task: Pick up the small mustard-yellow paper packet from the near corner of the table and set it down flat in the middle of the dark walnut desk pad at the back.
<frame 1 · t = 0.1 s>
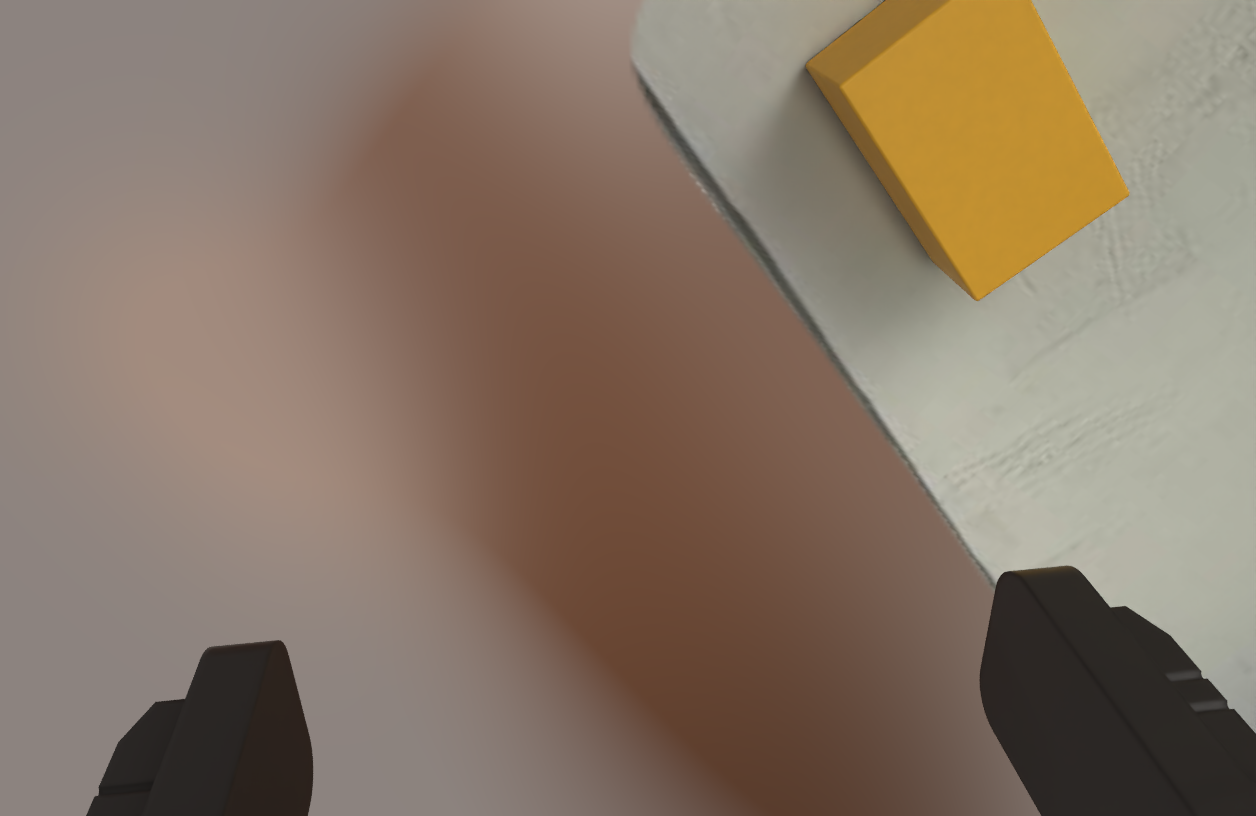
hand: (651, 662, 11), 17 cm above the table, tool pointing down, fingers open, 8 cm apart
packet: (943, 115, 26), on the table
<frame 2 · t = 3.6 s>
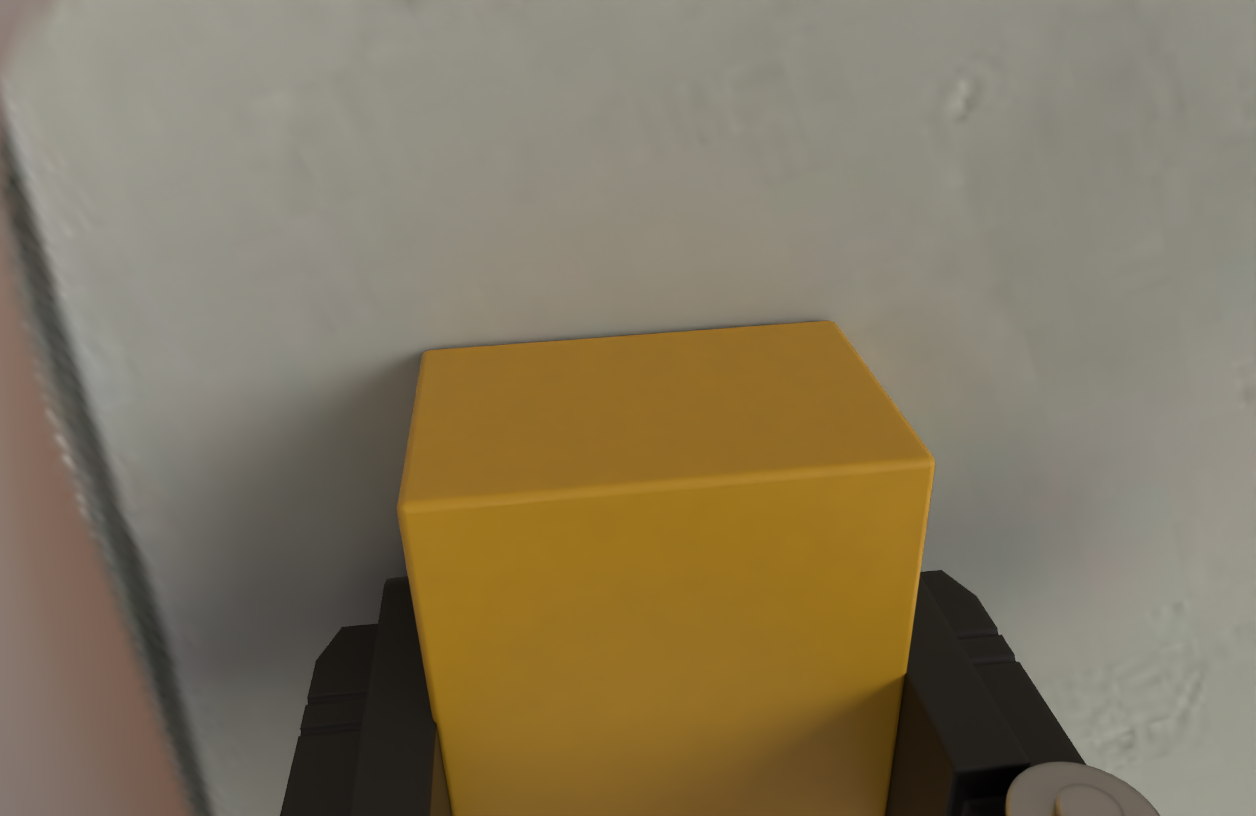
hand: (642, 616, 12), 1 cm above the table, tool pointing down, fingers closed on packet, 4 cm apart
packet: (639, 587, 12), on the table, touching gripper
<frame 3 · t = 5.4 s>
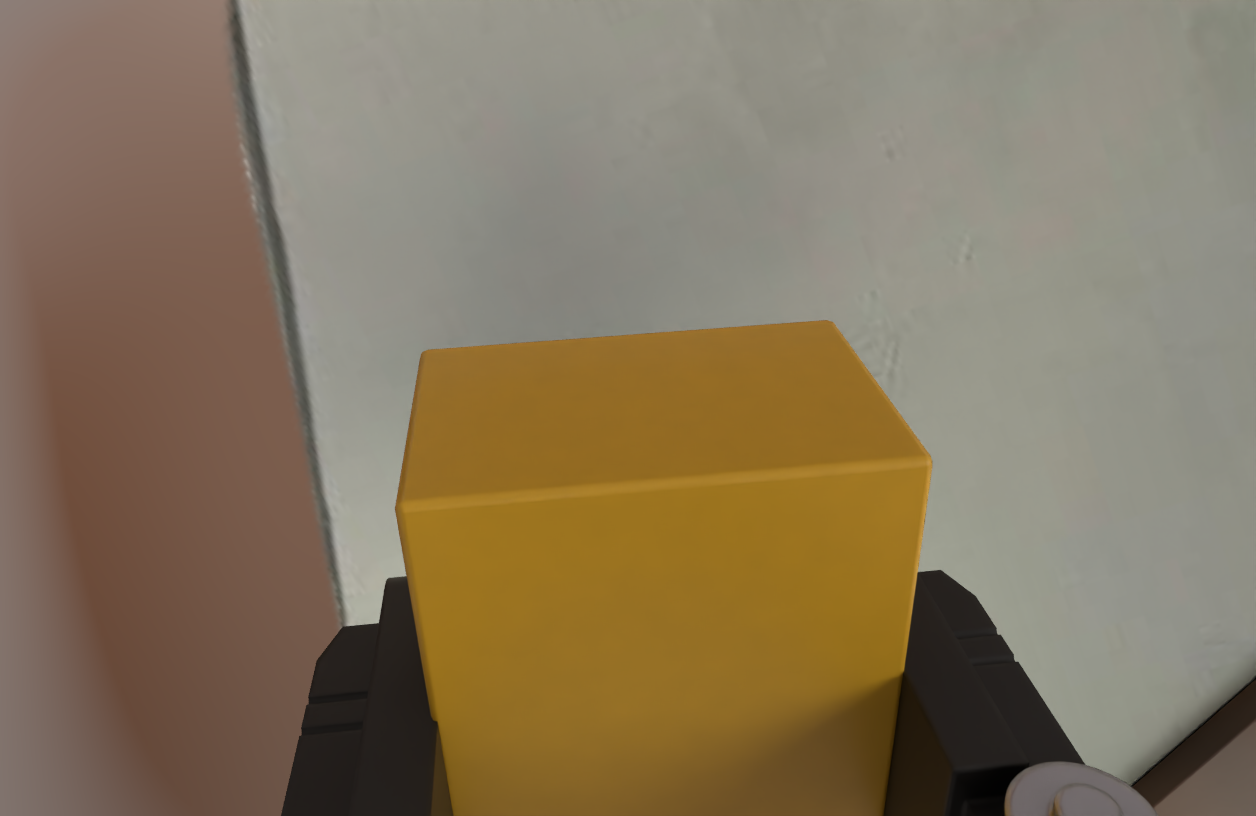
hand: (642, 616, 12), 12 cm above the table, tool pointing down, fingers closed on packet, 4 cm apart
packet: (638, 587, 12), point 11 cm above the table, touching gripper
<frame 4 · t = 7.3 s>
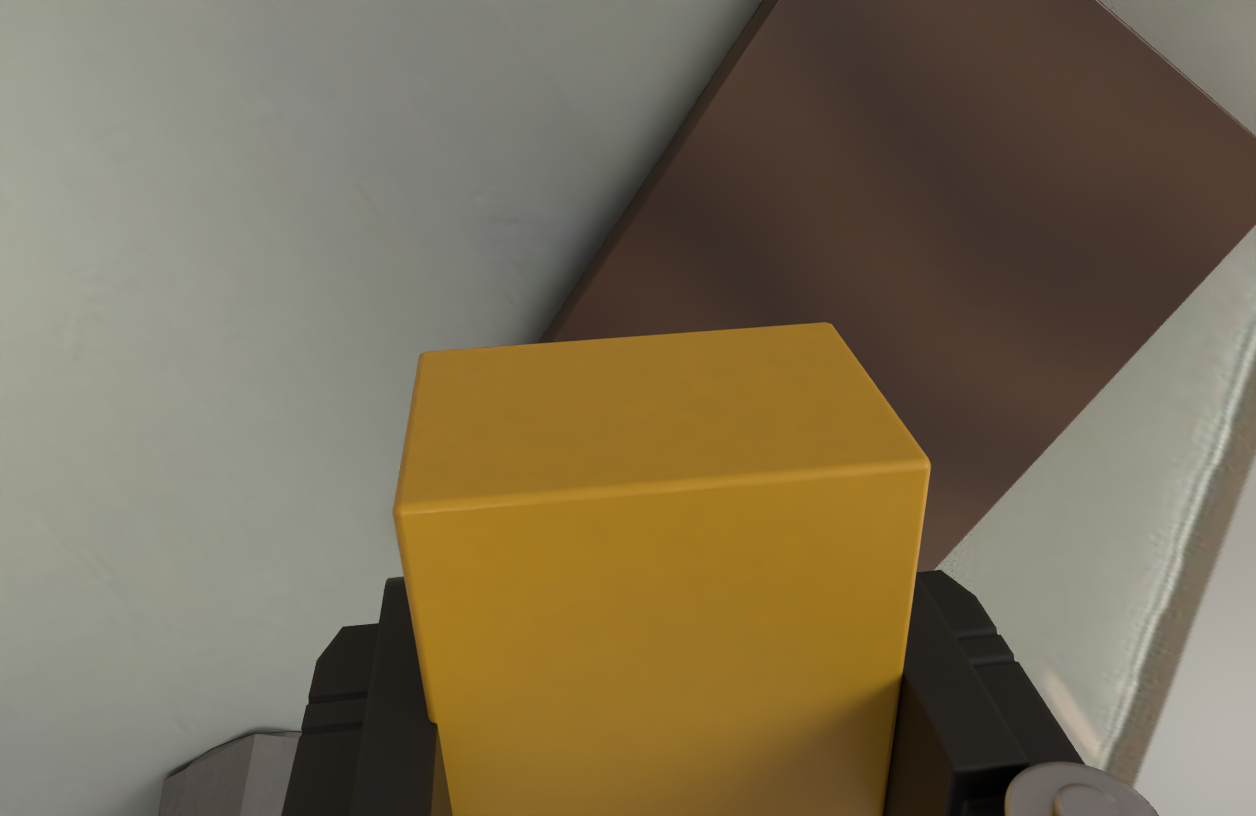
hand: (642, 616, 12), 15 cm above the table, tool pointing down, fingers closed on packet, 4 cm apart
coffeepot: (329, 812, 34), on the table
packet: (636, 589, 12), point 14 cm above the table, touching gripper
desk pad: (836, 341, 27), on the table
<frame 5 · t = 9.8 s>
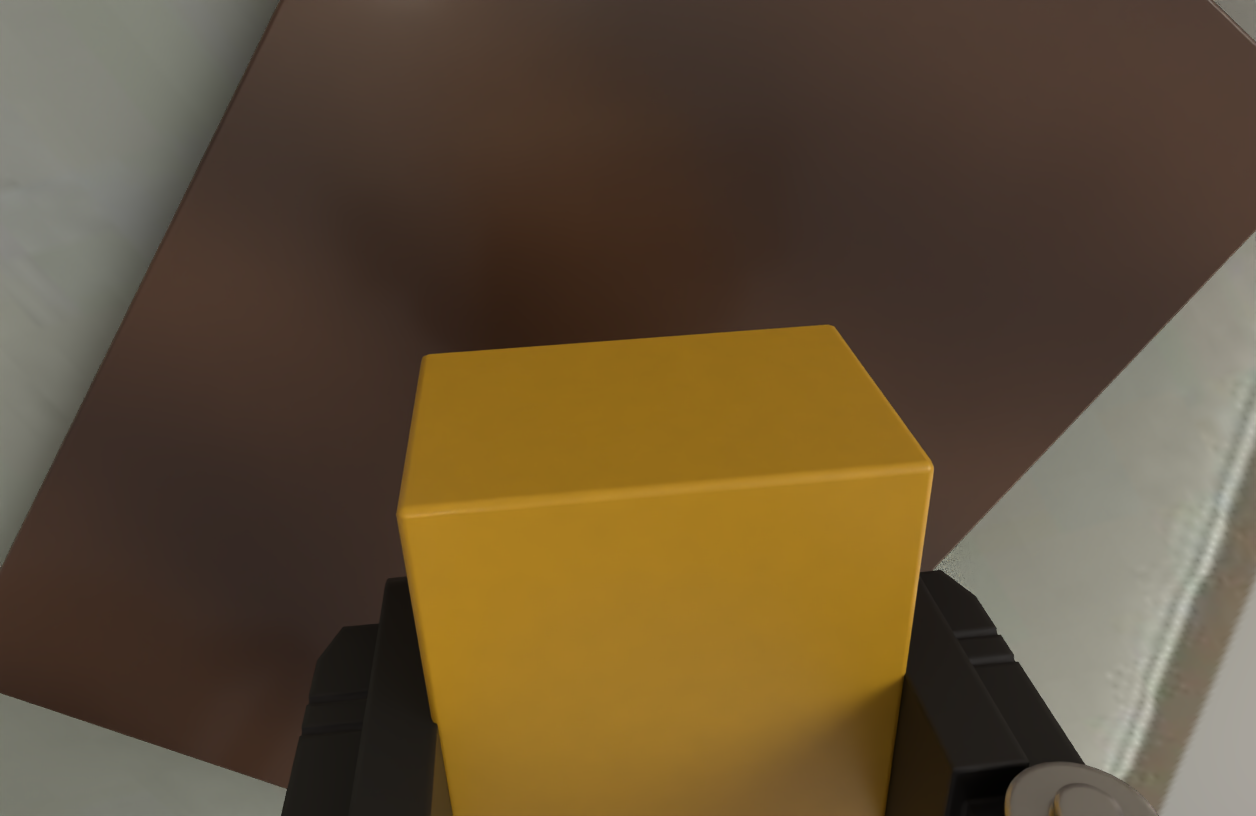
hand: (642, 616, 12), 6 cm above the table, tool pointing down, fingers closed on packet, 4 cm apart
packet: (639, 591, 12), point 5 cm above the table, touching gripper
desk pad: (601, 392, 17), on the table
when the fingers open (2 cm above the table, at t = 11.3 s): packet stays where it is, resting on desk pad.
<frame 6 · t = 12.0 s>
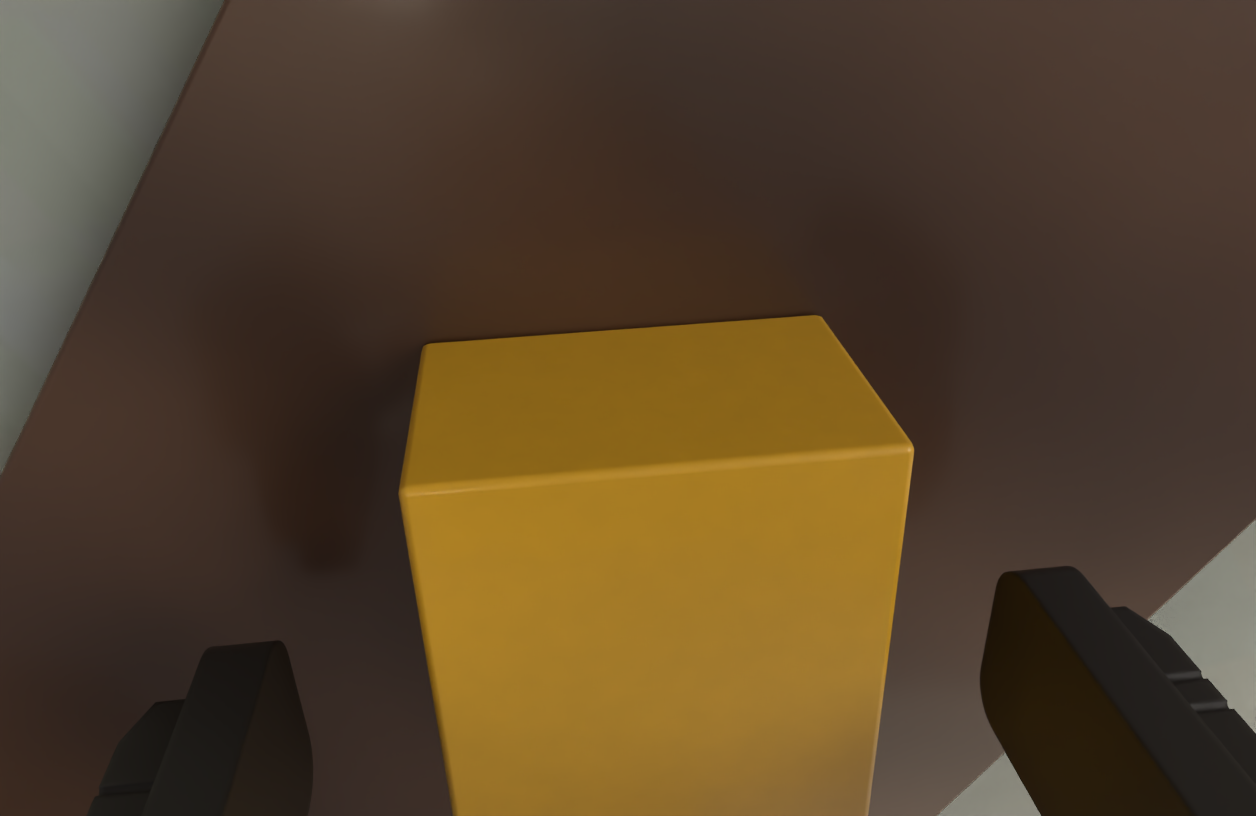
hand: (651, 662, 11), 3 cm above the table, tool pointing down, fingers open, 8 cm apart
packet: (633, 575, 13), point 1 cm above the table, touching desk pad
desk pad: (624, 526, 14), on the table
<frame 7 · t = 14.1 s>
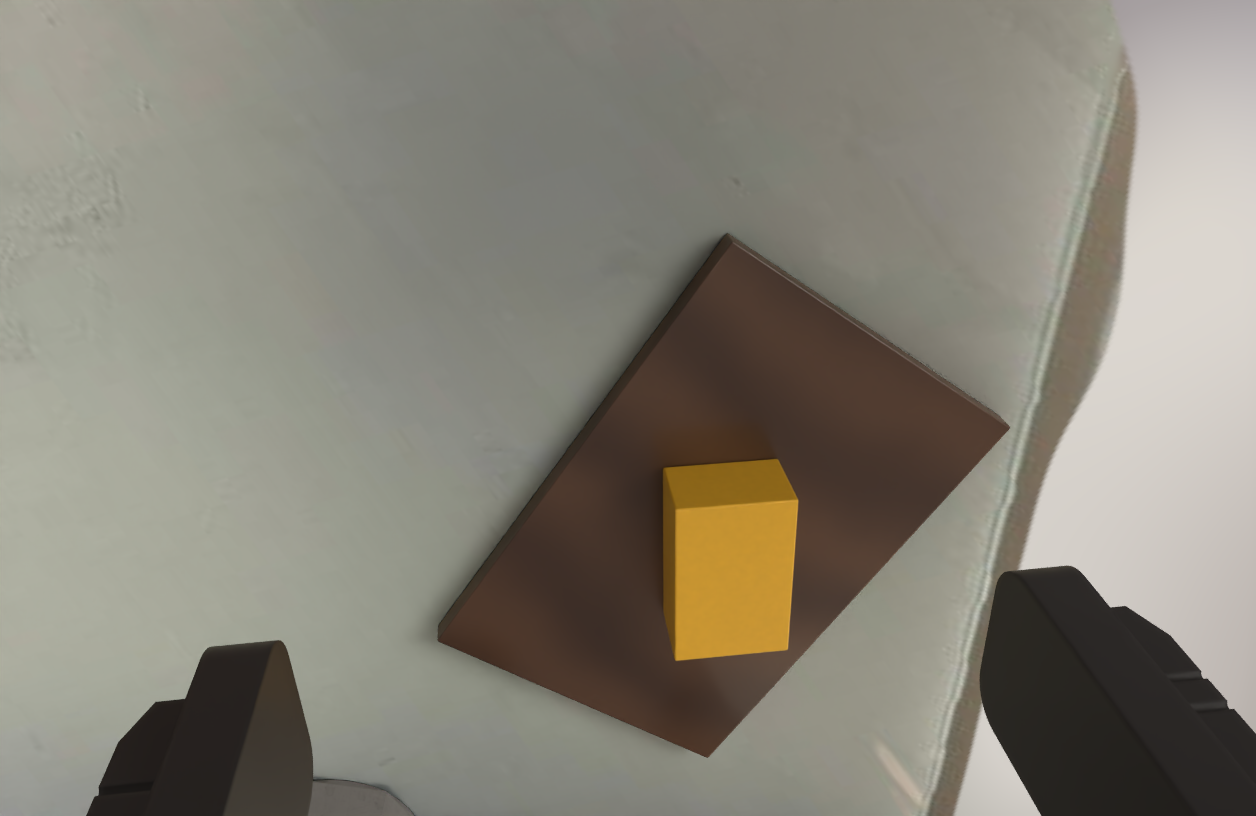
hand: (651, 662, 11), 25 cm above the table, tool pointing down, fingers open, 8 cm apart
packet: (718, 537, 40), point 1 cm above the table, touching desk pad
desk pad: (713, 522, 40), on the table
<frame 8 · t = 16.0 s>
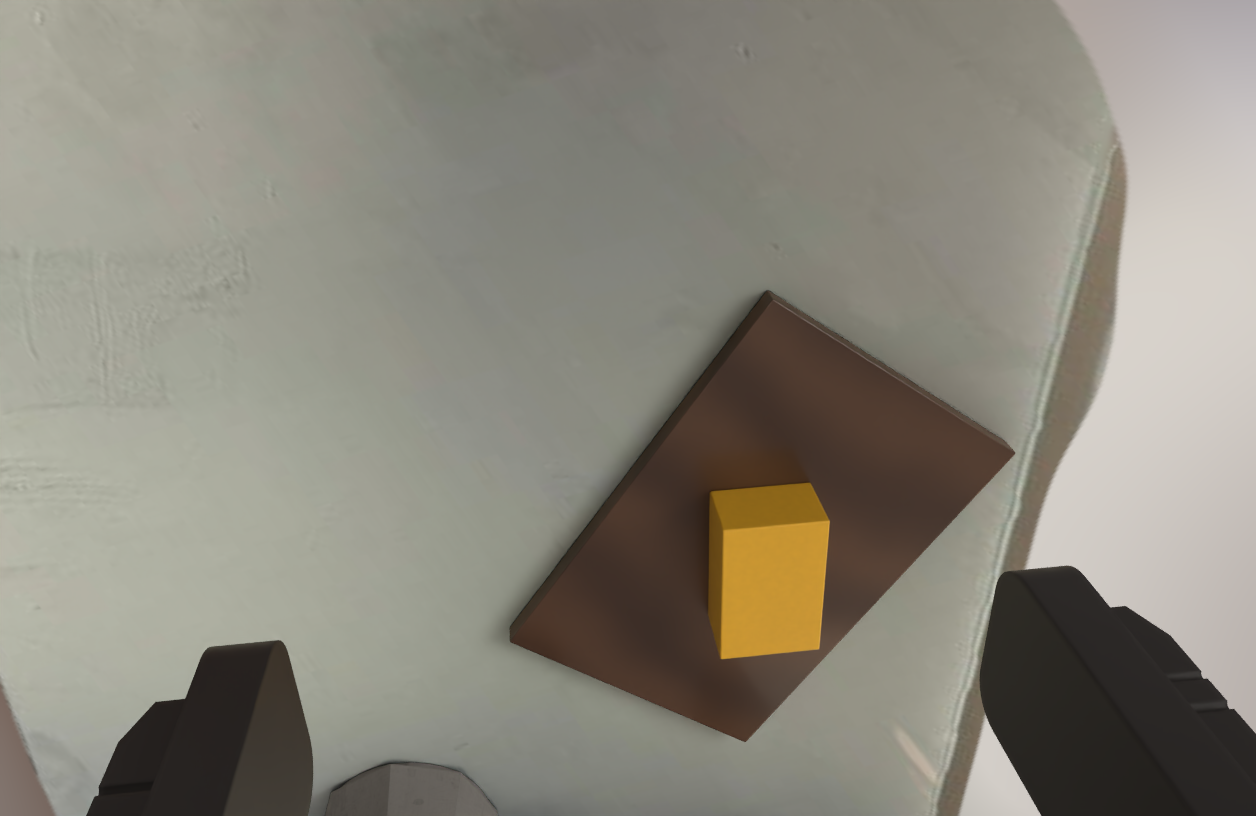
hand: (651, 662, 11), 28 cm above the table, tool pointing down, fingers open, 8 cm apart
coffeepot: (430, 814, 52), on the table
packet: (757, 550, 45), point 1 cm above the table, touching desk pad
desk pad: (752, 536, 46), on the table
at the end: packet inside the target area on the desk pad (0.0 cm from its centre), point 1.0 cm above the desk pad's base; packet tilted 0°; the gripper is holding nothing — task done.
